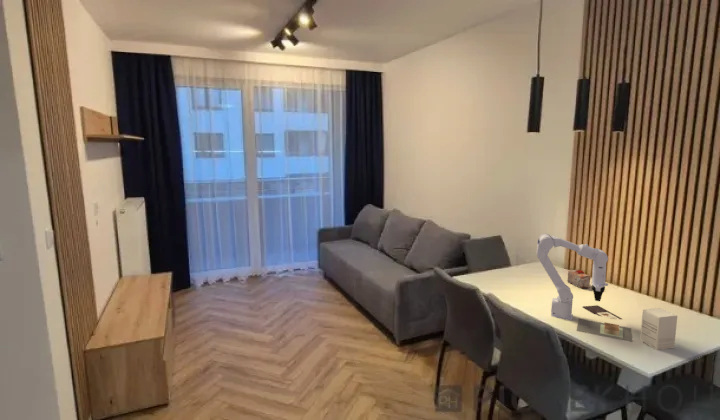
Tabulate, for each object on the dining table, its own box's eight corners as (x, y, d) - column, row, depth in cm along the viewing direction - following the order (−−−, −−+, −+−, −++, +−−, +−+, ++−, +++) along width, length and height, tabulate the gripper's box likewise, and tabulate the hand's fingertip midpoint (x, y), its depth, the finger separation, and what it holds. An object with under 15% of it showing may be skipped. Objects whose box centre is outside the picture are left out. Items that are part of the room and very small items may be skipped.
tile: (604, 326, 193) (603, 332, 187) (604, 322, 193) (604, 328, 186) (618, 329, 190) (619, 335, 184) (619, 324, 190) (619, 331, 183)
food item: (592, 288, 247) (593, 273, 245) (581, 289, 245) (582, 274, 243) (575, 281, 260) (576, 266, 258) (565, 282, 258) (565, 267, 257)
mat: (576, 331, 189) (576, 330, 189) (578, 319, 203) (578, 318, 203) (632, 343, 178) (632, 341, 178) (631, 329, 191) (631, 328, 191)
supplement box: (656, 338, 181) (659, 307, 179) (674, 348, 173) (678, 315, 170) (639, 340, 180) (642, 308, 178) (656, 350, 171) (659, 317, 169)
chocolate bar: (597, 305, 219) (622, 319, 201) (597, 307, 219) (622, 320, 201) (582, 306, 218) (606, 320, 200) (582, 308, 218) (606, 322, 200)
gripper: (608, 279, 190) (606, 307, 192) (608, 271, 202) (607, 297, 204) (591, 277, 193) (589, 304, 195) (592, 269, 206) (591, 295, 208)
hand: (597, 300), depth 200 cm, fingers closed
